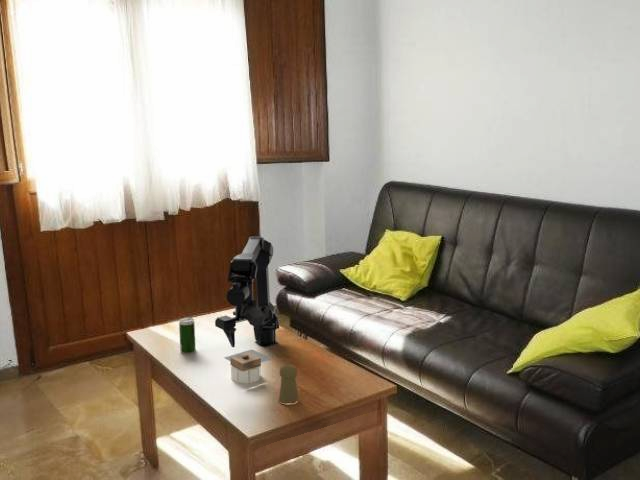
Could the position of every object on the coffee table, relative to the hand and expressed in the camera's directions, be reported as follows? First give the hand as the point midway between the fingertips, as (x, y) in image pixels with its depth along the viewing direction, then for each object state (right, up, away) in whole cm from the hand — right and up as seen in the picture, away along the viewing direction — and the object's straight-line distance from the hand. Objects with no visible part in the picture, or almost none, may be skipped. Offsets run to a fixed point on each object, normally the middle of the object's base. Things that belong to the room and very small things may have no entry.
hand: (245, 343), depth 211 cm
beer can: (-23, -7, +25) cm, 35 cm away
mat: (-1, -8, +18) cm, 20 cm away
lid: (0, -7, +1) cm, 7 cm away
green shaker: (+15, -15, -14) cm, 25 cm away
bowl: (0, -12, +2) cm, 12 cm away
